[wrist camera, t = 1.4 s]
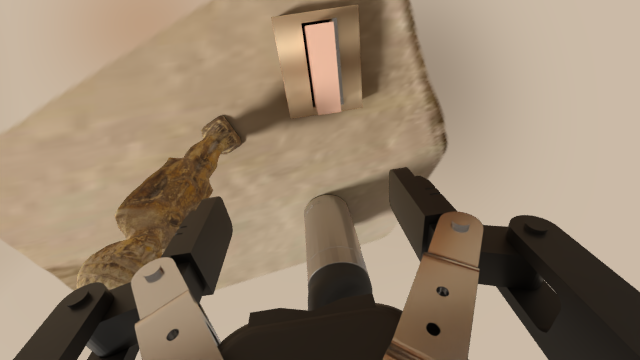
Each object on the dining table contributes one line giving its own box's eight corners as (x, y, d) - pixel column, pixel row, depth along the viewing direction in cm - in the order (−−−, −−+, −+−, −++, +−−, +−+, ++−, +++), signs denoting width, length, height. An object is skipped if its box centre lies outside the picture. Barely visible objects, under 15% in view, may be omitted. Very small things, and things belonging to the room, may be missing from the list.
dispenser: (357, 101, 42) (363, 108, 38) (290, 111, 42) (290, 119, 38) (352, 6, 35) (359, 3, 31) (273, 18, 35) (270, 17, 31)
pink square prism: (332, 95, 41) (341, 111, 33) (313, 98, 41) (318, 115, 33) (324, 23, 36) (333, 21, 28) (303, 26, 36) (306, 25, 28)
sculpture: (247, 143, 44) (180, 302, 18) (220, 161, 45) (121, 335, 19) (219, 110, 41) (88, 247, 15) (190, 131, 42) (25, 291, 16)
